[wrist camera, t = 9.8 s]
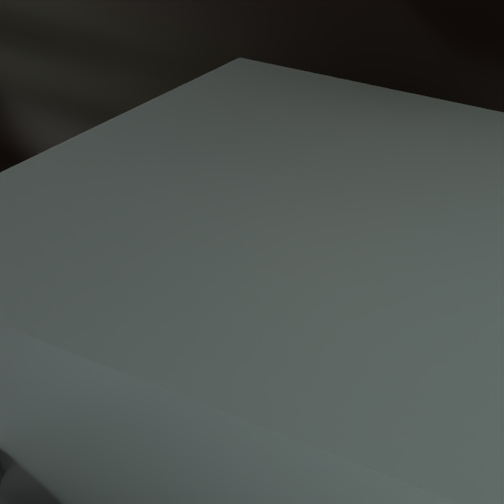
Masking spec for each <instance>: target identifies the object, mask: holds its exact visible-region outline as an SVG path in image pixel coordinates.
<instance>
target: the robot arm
mask: <svg viewBox="0 0 504 504" xmlns="http://www.w3.org/2000/svg"><path fill="white" fill-rule="evenodd" d="M3 476H4V471H3V468H2V465H1V462H0V484H1V481H2V478H3Z"/></svg>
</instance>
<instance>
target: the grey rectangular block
mask: <svg viewBox="0 0 504 504" xmlns="http://www.w3.org/2000/svg"><path fill="white" fill-rule="evenodd" d="M0 462H1V465H2V468H3V471H4V476H3V478H2V481H1V484H0V504H504V112H499V111H494V110H489V109H484V108H480V107H475V106H470V105H465V104H460V103H456V102H451V101H446V100H441V99H436V98H432V97H427V96H422V95H417V94H412V93H408V92H403V91H398V90H393V89H388V88H384V87H379V86H374V85H369V84H365V83H360V82H355V81H350V80H345V79H341V78H336V77H331V76H326V75H321V74H317V73H312V72H307V71H302V70H297V69H293V68H288V67H283V66H278V65H273V64H269V63H264V62H259V61H254V60H250V59H245V58H238V59H235V60H233V61H231V62H229V63H227V64H225V65H223V66H221V67H219V68H217V69H215V70H213V71H211V72H208V73H206V74H204V75H202V76H200V77H198V78H196V79H194V80H192V81H190V82H188V83H186V84H183V85H181V86H179V87H177V88H175V89H173V90H171V91H169V92H167V93H165V94H163V95H161V96H158V97H156V98H154V99H152V100H150V101H148V102H146V103H144V104H142V105H140V106H138V107H136V108H134V109H131V110H129V111H127V112H125V113H123V114H121V115H119V116H117V117H115V118H113V119H111V120H109V121H106V122H104V123H102V124H100V125H98V126H96V127H94V128H92V129H90V130H88V131H86V132H84V133H81V134H79V135H77V136H75V137H73V138H71V139H69V140H67V141H65V142H63V143H61V144H59V145H57V146H54V147H52V148H50V149H48V150H46V151H44V152H42V153H40V154H38V155H36V156H34V157H32V158H29V159H27V160H25V161H23V162H21V163H19V164H17V165H15V166H13V167H11V168H9V169H7V170H4V171H2V172H0Z"/></svg>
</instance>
